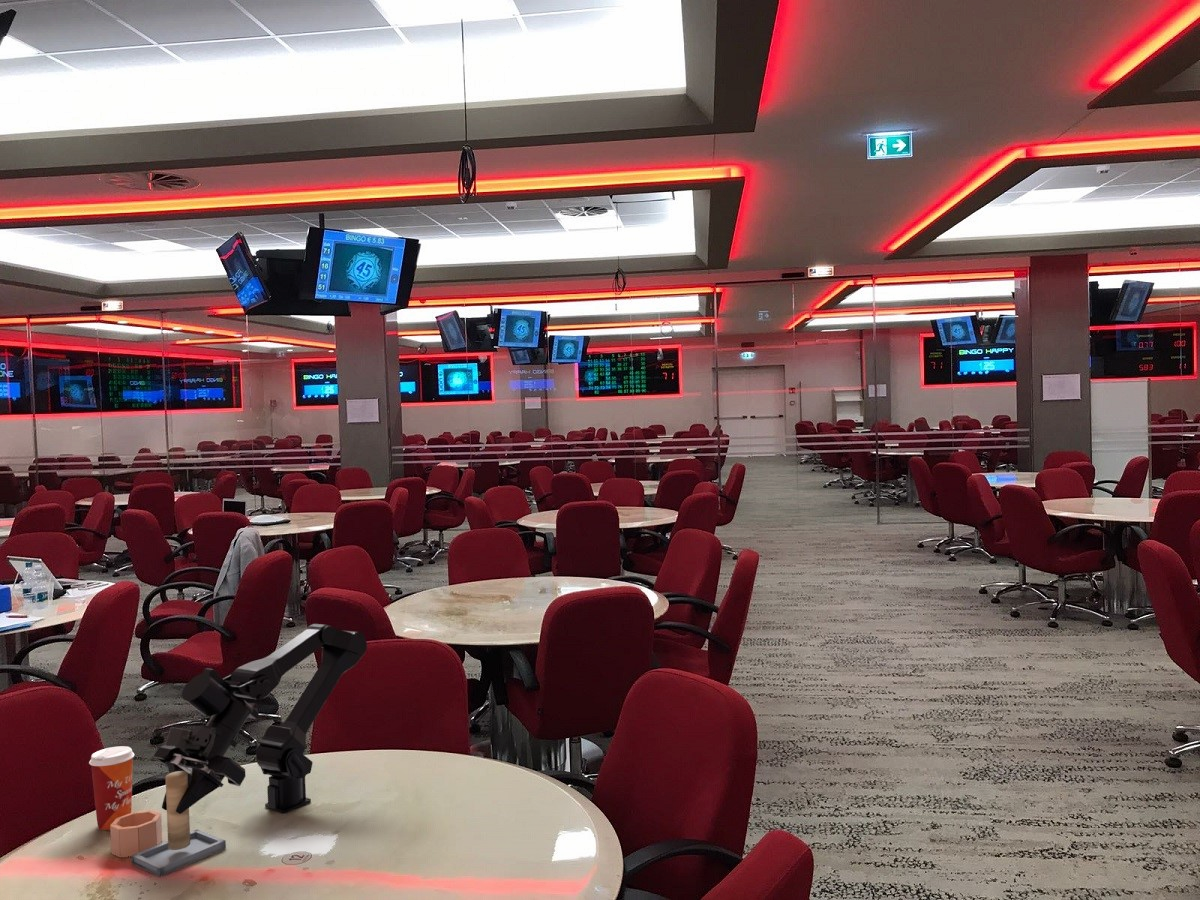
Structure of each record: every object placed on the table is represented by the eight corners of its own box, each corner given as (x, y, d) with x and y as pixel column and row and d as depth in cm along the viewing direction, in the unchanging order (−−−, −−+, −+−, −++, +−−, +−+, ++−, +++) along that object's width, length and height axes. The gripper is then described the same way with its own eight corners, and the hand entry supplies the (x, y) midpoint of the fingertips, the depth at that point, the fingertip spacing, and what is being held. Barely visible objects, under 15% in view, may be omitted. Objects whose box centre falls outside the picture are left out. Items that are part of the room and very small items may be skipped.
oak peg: (177, 840, 156) (174, 770, 156) (194, 841, 156) (191, 771, 155) (163, 849, 153) (160, 778, 153) (181, 850, 152) (178, 778, 152)
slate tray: (197, 837, 162) (197, 829, 162) (225, 848, 157) (225, 840, 157) (132, 864, 152) (131, 855, 152) (159, 877, 147) (159, 868, 147)
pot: (146, 834, 164) (145, 807, 164) (168, 843, 159) (167, 816, 159) (104, 850, 157) (103, 822, 157) (126, 860, 153) (125, 832, 153)
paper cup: (117, 834, 164) (114, 759, 164) (81, 832, 166) (79, 758, 166) (146, 816, 172) (143, 745, 172) (112, 814, 173) (110, 744, 173)
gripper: (160, 701, 162) (105, 782, 152) (229, 712, 153) (174, 799, 143) (200, 730, 169) (149, 809, 159) (267, 743, 160) (217, 828, 150)
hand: (170, 811), depth 153 cm, fingers closed on oak peg, 3 cm apart
